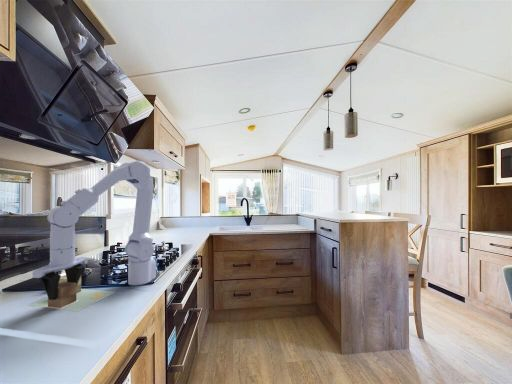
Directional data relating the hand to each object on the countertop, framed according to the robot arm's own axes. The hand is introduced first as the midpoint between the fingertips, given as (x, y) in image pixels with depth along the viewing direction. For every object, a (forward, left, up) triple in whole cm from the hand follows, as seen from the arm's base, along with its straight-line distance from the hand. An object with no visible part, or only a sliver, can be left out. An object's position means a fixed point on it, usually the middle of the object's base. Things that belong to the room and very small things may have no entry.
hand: (62, 295), depth 71 cm
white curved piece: (-15, -18, -4) cm, 24 cm away
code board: (-4, 0, -3) cm, 5 cm away
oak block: (-6, -6, -2) cm, 9 cm away
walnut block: (0, 0, -2) cm, 2 cm away
